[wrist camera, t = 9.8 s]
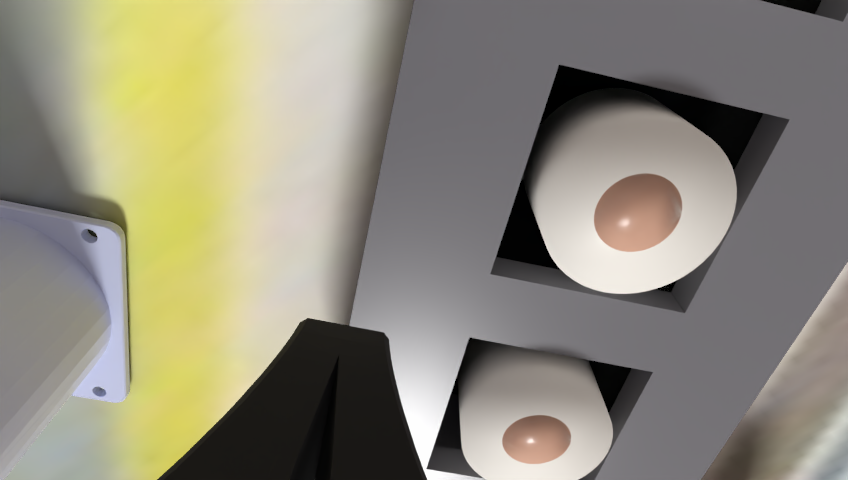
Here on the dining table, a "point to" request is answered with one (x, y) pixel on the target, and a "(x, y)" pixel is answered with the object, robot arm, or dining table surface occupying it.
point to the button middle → (627, 191)
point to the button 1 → (530, 414)
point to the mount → (551, 288)
